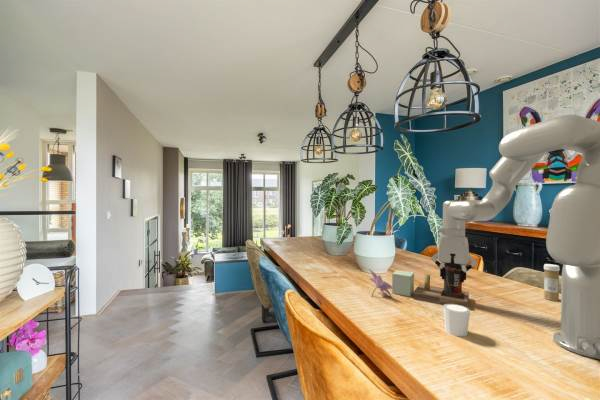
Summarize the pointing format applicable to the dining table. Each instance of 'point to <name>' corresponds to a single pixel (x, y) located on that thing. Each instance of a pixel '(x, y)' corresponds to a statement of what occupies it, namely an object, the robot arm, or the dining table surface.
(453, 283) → the deodorant
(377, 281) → the lily
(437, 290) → the board
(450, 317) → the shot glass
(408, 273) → the green block
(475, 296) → the dining table surface
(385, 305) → the dining table surface
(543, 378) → the dining table surface
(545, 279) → the sprinkles bottle
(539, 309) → the dining table surface
